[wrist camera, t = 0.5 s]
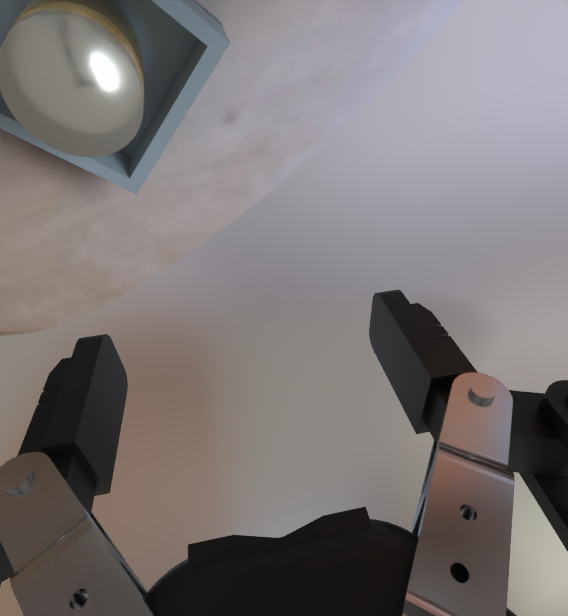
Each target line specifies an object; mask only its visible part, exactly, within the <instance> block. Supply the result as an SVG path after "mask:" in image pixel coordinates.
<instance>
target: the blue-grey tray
mask: <svg viewBox="0 0 568 616" xmlns="http://www.w3.org/2000/svg"><path fill="white" fill-rule="evenodd" d="M29 1H30V0H0V48H1V45H2V43H3V42H4V40H5V39H6V36H7V34H8V32H9V30H10V29H11V27H12V26H13V25H14V23H15V22H16V20H17V19H18V17H19V16H20V14H21V13H22V11H23V10H24V9H25V7H26V6H27V4H28V3H29ZM114 1H115V2H117V4H118V5H119V6H120V7H121V8H122V9H123V10H124V11H125V13H126V14H127V15H128V17H129V18H130V20H131V21H132V23H133V25H134V27H135V29H136V31H137V33H138V36H139V39H140V43H141V47H142V54H143V63H144V105H143V118H142V122H141V125H140V128H139V130H138V132H137V134H136V135H135V137H134V138H133V139H132V140H131V142H130V143H129V144H127V145H126V146H125V147H124V148H122V149H121V150H119V151H117V152H115V153H112V154H110V155H106V156H100V157H80V156H75V155H70V154H67V153H64V152H61V151H58V150H56V149H54V148H52V147H50V146H48V145H46V144H44V143H43V142H41V141H40V140H38V139H37V138H35V137H34V136H33V135H32V134H30V133H29V132H28V131H27V130H26V129H25V128H24V127H23V126H22V125H21V124H20V123H19V122H18V120H17V119H16V118H15V117H14V116H13V114H12V113H11V111H10V110H9V108H8V106H7V104H6V103H5V101H4V99H3V96H2V94H1V91H0V129H2V130H4V131H6V132H8V133H10V134H12V135H14V136H16V137H18V138H21V139H23V140H25V141H27V142H29V143H31V144H33V145H35V146H37V147H39V148H41V149H43V150H45V151H47V152H50V153H52V154H54V155H56V156H58V157H60V158H62V159H64V160H66V161H68V162H70V163H72V164H74V165H76V166H79V167H81V168H83V169H85V170H87V171H89V172H91V173H93V174H95V175H97V176H99V177H101V178H103V179H105V180H108V181H110V182H112V183H114V184H116V185H118V186H120V187H122V188H124V189H126V190H128V191H130V192H132V193H134V194H137V193H138V191H139V189H140V188H141V186H142V184H143V183H144V181H145V180H146V178H147V176H148V175H149V173H150V171H151V170H152V168H153V167H154V165H155V163H156V162H157V160H158V158H159V157H160V155H161V154H162V152H163V150H164V149H165V147H166V145H167V144H168V142H169V141H170V139H171V137H172V136H173V134H174V132H175V131H176V129H177V128H178V126H179V124H180V123H181V121H182V119H183V118H184V116H185V115H186V113H187V111H188V110H189V108H190V106H191V105H192V103H193V102H194V100H195V98H196V97H197V95H198V93H199V92H200V90H201V89H202V87H203V85H204V84H205V82H206V81H207V79H208V77H209V76H210V74H211V72H212V71H213V69H214V68H215V66H216V64H217V63H218V61H219V59H220V58H221V56H222V55H223V53H224V51H225V50H226V48H227V46H228V45H229V43H230V42H229V40H228V38H227V35H226V33H225V31H224V29H223V27H222V24H221V22H220V21H218V20H217V19H216V18H215V17H214V16H213V15H212V14H210V13H209V12H208V11H207V10H206V9H205V8H204V7H202V6H201V5H200V4H199V3H198V2H197V1H196V0H114Z"/></svg>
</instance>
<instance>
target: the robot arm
mask: <svg viewBox="0 0 568 616" xmlns="http://www.w3.org/2000/svg"><path fill="white" fill-rule="evenodd" d="M369 335H370V341H371V345H372V348H373V350H374V352H375V354H376V356H377V358H378V360H379V362H380V364H381V366H382V368H383V370H384V371H385V374H386V376H387V377H388V379H389V381H390V383H391V385H392V387H393V389H394V391H395V393H396V395H397V397H398V399H399V401H400V403H401V405H402V407H403V409H404V411H405V413H406V414H407V417H408V419H409V421H410V422H411V424H412V426H413V428H414V430H415V432H416V434H420V433H425V432H430V433H431V435H432V437H433V439H434V443H433V446H432V450H431V454H430V458H429V462H428V466H427V470H426V475H425V479H424V483H423V487H422V491H421V495H420V499H419V504H418V507H417V510H416V514H415V518H414V521H413V525H412V529H411V532H409V531H408V530H406V529H403V528H401V527H399V526H397V525H394V524H391V523H388V522H384V521H380V520H373V519H369V516H368V513H367V510H366V507H362V508H357V509H353V510H348V511H343V512H339V513H334V514H329V515H325V516H322V517H320V518H318V519H316V520H314V521H313V522H311V523H309V524H307V525H305V526H303V527H301V528H299V529H297V530H296V531H294V532H292V533H290V534H288V535H286V536H284V537H281V538H270V537H256V536H241V535H231V536H226V537H221V538H217V539H212V540H207V541H203V542H199V543H193V544H189V545H188V559H187V560H185V561H183V562H181V563H180V564H178V565H177V566H175V567H174V568H172V569H171V570H170V571H168V572H167V573H166V574H165V575H164V576H163V577H161V578H160V579H159V580H158V582H156V584H155V585H154V586H153V587H152V588H151V589H150V590H149V591H147V589H146V588H145V587H144V585H143V584H142V582H141V581H140V580H139V578H138V577H137V576H136V574H135V573H134V571H133V570H132V569H131V567H130V566H129V565H128V563H127V562H126V560H125V559H124V558H123V556H122V554H121V553H120V552H119V550H118V549H117V547H116V546H115V545H114V543H113V541H112V540H111V538H110V537H109V536H108V534H107V533H106V531H105V530H104V528H103V527H102V525H101V524H100V522H99V521H98V520H97V518H96V517H95V515H94V514H93V512H92V511H91V510H92V505H93V500H94V496H97V495H102V494H107V493H110V488H111V482H112V477H113V471H114V465H115V459H116V453H117V447H118V442H119V436H120V430H121V424H122V418H123V412H124V407H125V401H126V395H127V388H128V385H127V384H128V383H127V376H126V371H125V369H124V366H123V364H122V362H121V360H120V358H119V355H118V353H117V351H116V349H115V347H114V344H113V342H112V340H111V338H110V336H109V335H107V334H104V335H98V336H92V337H85V338H80V339H78V341H77V343H76V346H75V349H74V351H73V354H72V357H71V358H65V359H62V360H61V361H60V362H59V363H58V364H57V366H56V367H55V368H54V369H53V370H52V371H51V372H50V374H49V376H48V378H47V381H46V383H45V386H44V389H43V390H44V392H43V393H42V394H41V396H40V399H39V402H38V403H39V405H37V407H36V409H35V412H34V415H33V417H32V420H31V422H30V425H29V428H28V430H27V433H26V435H25V438H24V440H23V443H22V446H21V448H20V451H19V453H18V455H17V456H16V457H14V458H12V459H11V460H9V461H7V462H6V463H5V464H3V465H2V466H1V467H0V585H1V582H2V581H4V580H6V579H8V578H10V577H11V578H10V583H11V587H12V590H13V592H14V595H15V597H16V599H17V601H18V603H19V606H20V608H21V610H22V612H23V615H24V616H517V615H515V614H514V613H513V612H511V611H510V610H509V609H508V608H507V591H508V576H509V560H510V543H511V528H512V513H513V497H514V473H513V472H519V473H520V475H521V477H522V478H523V480H524V482H525V483H526V485H527V486H528V488H529V490H530V491H531V493H532V495H533V496H534V498H535V499H536V501H537V503H538V504H539V506H540V507H541V509H542V511H543V512H544V514H545V516H546V517H547V519H548V520H549V522H550V524H551V525H552V527H553V529H554V530H555V532H556V533H557V535H558V537H559V538H560V540H561V542H562V543H563V545H564V546H565V548H566V550H567V551H568V381H567V380H562V381H557V382H554V383H552V384H551V385H550V386H549V387H548V389H547V391H546V392H545V394H543V393H532V392H520V391H512V390H508V389H507V387H506V386H505V385H504V384H503V383H501V382H500V381H499V380H497V379H495V378H493V377H491V376H489V375H486V374H482V373H478V372H477V371H476V370H475V368H474V367H473V366H472V364H471V363H470V362H469V361H468V359H467V358H466V356H465V355H464V354H463V353H462V351H461V350H460V349H459V347H458V346H457V345H456V343H455V342H454V341H453V339H452V338H451V337H450V336H448V333H447V331H446V330H445V329H444V328H443V326H442V327H441V324H440V322H439V321H438V320H437V318H436V317H435V316H434V315H433V313H432V312H431V311H429V310H427V309H426V308H425V307H423V306H422V305H420V304H419V303H415V304H410V303H409V301H408V300H407V299H406V297H405V296H404V294H403V293H402V292H401V291H400V290H393V291H386V292H380V293H375V294H374V296H373V301H372V311H371V319H370V329H369Z"/></svg>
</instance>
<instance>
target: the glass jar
mask: <svg viewBox="0 0 568 616" xmlns="http://www.w3.org/2000/svg"><path fill="white" fill-rule="evenodd" d="M0 91H1V94H2V96H3V99H4V101H5V103H6V104H7V106H8V108H9V110H10V111H11V113H12V114H13V116H14V117H15V118H16V119H17V120H18V122H19V123H20V124H21V125H22V126H23V127H24V128H25V129H26V130H27V131H28V132H29V133H30V134H32V135H33V136H34V137H35V138H37V139H38V140H40V141H41V142H43V143H44V144H46V145H48V146H50V147H52V148H54V149H56V150H58V151H61V152H64V153H67V154H70V155H75V156H80V157H100V156H106V155H110V154H112V153H115V152H117V151H119V150H121V149H122V148H124V147H125V146H126V145H127V144H129V143H130V142H131V140H132V139H133V138H134V137H135V135H136V134H137V132H138V130H139V128H140V125H141V122H142V118H143V105H144V63H143V54H142V47H141V43H140V39H139V36H138V33H137V31H136V29H135V27H134V25H133V23H132V21H131V20H130V18H129V17H128V15H127V14H126V13H125V11H124V10H123V9H122V8H121V7H120V6H119V5H118V4H117V2H115V1H114V0H30V1H29V3H28V4H27V6H26V7H25V9H24V10H23V11H22V13H21V14H20V16H19V17H18V19H17V20H16V22H15V23H14V25H13V26H12V27H11V29H10V30H9V32H8V34H7V36H6V39H5V40H4V42H3V43H2V45H1V48H0Z"/></svg>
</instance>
